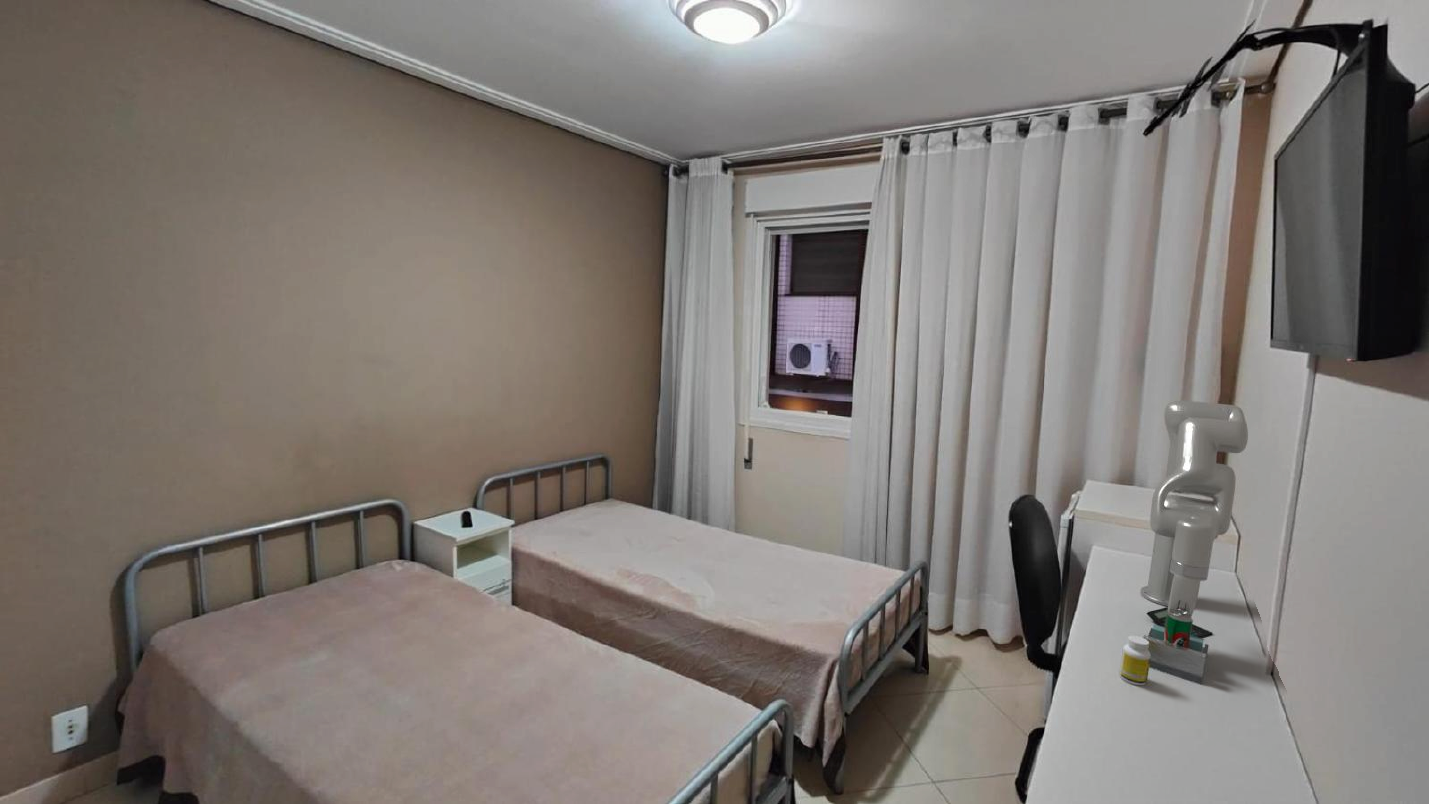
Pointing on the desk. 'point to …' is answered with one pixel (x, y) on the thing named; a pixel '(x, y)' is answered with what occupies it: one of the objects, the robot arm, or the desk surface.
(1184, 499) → the robot arm
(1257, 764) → the desk surface
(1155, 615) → the calculator
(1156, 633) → the block
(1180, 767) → the desk surface
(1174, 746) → the desk surface
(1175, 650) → the grey tray
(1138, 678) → the supplement bottle
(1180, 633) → the soda can
